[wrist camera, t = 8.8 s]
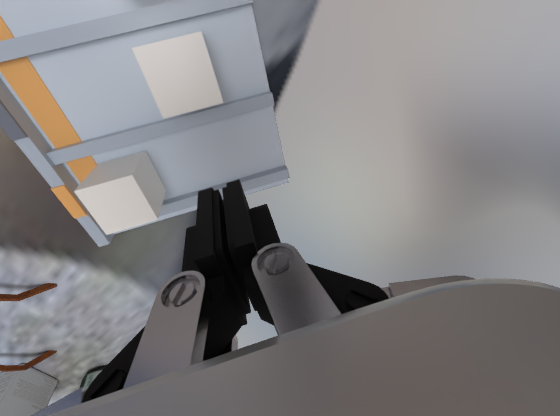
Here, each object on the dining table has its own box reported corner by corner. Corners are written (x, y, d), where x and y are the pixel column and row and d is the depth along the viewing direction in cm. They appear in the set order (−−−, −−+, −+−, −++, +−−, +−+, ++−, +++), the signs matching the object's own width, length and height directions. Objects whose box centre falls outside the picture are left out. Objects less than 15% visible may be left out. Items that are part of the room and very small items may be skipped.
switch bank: (207, -180, 16) (208, -233, 13) (284, 174, 29) (293, 189, 26) (-139, -119, 14) (-233, -162, 11) (110, 225, 28) (98, 248, 25)
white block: (145, 150, 23) (132, 174, 19) (166, 190, 25) (158, 219, 21) (98, 163, 22) (73, 191, 18) (123, 202, 25) (106, 235, 20)
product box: (23, 361, 35) (-15, 428, 29) (60, 379, 38) (33, 442, 32) (-20, 380, 35) (-67, 451, 29) (21, 396, 38) (-14, 463, 32)
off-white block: (202, 33, 19) (201, 31, 15) (220, 90, 22) (223, 102, 18) (147, 46, 19) (131, 48, 15) (171, 103, 21) (163, 118, 17)
